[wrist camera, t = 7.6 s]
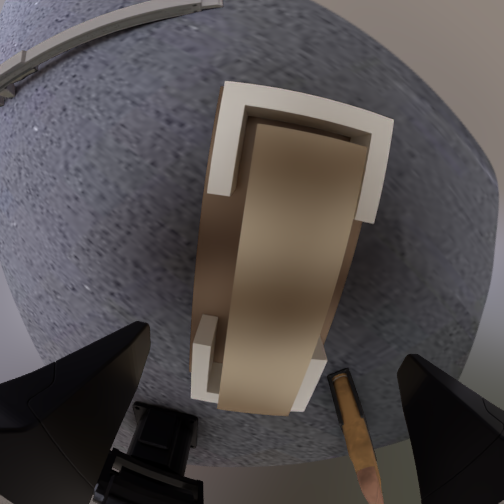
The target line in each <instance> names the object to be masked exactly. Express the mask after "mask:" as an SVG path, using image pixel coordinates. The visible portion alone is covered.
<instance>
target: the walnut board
mask: <svg viewBox="0 0 504 504" xmlns="http://www.w3.org/2000/svg"><path fill="white" fill-rule="evenodd" d="M223 90H224V87H223V86H221V88H220V93H219V98H218V103H217V109H216V114H215V120H214V126H213V132H212V138H211V144H210V151H209V157H208V164H207V171H206V178H205V185H204V193H203V201H202V209H201V217H200V226H199V235H198V245H197V255H196V266H195V278H194V290H193V304H192V319H191V338H190V361H189V372H192V350H193V341H194V338H195V335H196V332H197V329H198V326H199V323H200V320H201V317H202V315H203V314H204V315H210V316H216V317H218V322H217V330H216V339H215V348H214V357H213V362H216V363H222V364H223V359H224V351H225V343H226V336H227V328H228V320H229V313H230V306H231V298H232V291H233V284H234V276H235V269H236V262H237V255H238V248H239V241H240V234H241V228H242V221H243V214H244V207H245V201H246V194H247V187H248V181H249V174H250V168H251V162H252V155H253V149H254V143H255V136H256V130H257V124H265V125H271V126H277V127H283V128H288V129H293V130H299V131H303V132H308V133H313V134H317V135H322V136H326V137H330V138H335V139H339V140H342V141H346V142H350V139H351V137H347V136H344V135H340V134H336V133H332V132H328V131H324V130H320V129H316V128H312V127H307V126H302V125H298V124H293V123H288V122H283V121H277V120H271V119H266V118H259V117H253V116H248V118H247V124H246V130H245V136H244V142H243V148H242V154H241V160H240V166H239V172H238V178H237V185H236V189H235V191H234V192H233V193H232V194H231V196H223V195H216V194H209V193H207V188H208V181H209V174H210V167H211V160H212V154H213V147H214V141H215V135H216V129H217V123H218V117H219V111H220V106H221V100H222V95H223ZM361 225H362V221H359V220H355V219H353V222H352V226H351V231H350V235H349V239H348V243H347V247H346V250H345V254H344V258H343V262H342V265H341V269H340V272H339V276H338V279H337V283H336V286H335V290H334V293H333V296H332V299H331V303H330V306H329V309H328V312H327V315H326V318H325V321H324V324H323V327H322V330H321V333H320V336H321V340H322V343H323V345H324V342H325V340H326V337H327V334H328V332H329V329H330V326H331V323H332V321H333V318H334V315H335V312H336V309H337V306H338V303H339V300H340V297H341V294H342V291H343V288H344V285H345V282H346V279H347V275H348V272H349V269H350V265H351V262H352V259H353V255H354V252H355V248H356V244H357V241H358V237H359V233H360V229H361Z"/></svg>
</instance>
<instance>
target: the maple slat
mask: <svg viewBox="0 0 504 504" xmlns="http://www.w3.org/2000/svg"><path fill="white" fill-rule="evenodd" d="M366 152H367V147H365V146H361V145H357V144H354V143H350V142H346V141H342V140H339V139H335V138H330V137H326V136H322V135H317V134H313V133H308V132H303V131H299V130H293V129H288V128H283V127H277V126H271V125H265V124H257V130H256V136H255V143H254V149H253V155H252V162H251V168H250V174H249V181H248V187H247V194H246V201H245V207H244V214H243V221H242V228H241V234H240V241H239V248H238V255H237V262H236V269H235V276H234V284H233V291H232V298H231V306H230V313H229V320H228V328H227V336H226V343H225V351H224V359H223V367H222V375H221V383H220V391H219V399H218V407H217V409H222V410H229V411H236V412H244V413H254V414H264V415H278V416H288V415H289V413H290V410H291V408H292V406H293V403H294V401H295V399H296V396H297V394H298V391H299V389H300V386H301V384H302V382H303V379H304V376H305V374H306V371H307V369H308V366H309V363H310V361H311V358H312V355H313V353H314V350H315V347H316V344H317V342H318V339H319V336H320V333H321V330H322V327H323V324H324V321H325V318H326V315H327V312H328V309H329V306H330V303H331V299H332V296H333V293H334V290H335V286H336V283H337V279H338V276H339V272H340V269H341V265H342V262H343V258H344V254H345V250H346V247H347V243H348V239H349V235H350V231H351V226H352V222H353V218H354V214H355V209H356V205H357V200H358V195H359V190H360V185H361V180H362V175H363V170H364V164H365V158H366Z"/></svg>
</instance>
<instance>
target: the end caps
mask: <svg viewBox="0 0 504 504" xmlns="http://www.w3.org/2000/svg"><path fill="white" fill-rule="evenodd" d="M248 116H253V117H259V118H266V119H271V120H277V121H283V122H288V123H293V124H298V125H302V126H307V127H312V128H316V129H320V130H324V131H328V132H332V133H336V134H340V135H344V136H347V137H351V139H350V143H354V144H357V145H361V146H365V147H367V152H366V158H365V164H364V170H363V175H362V180H361V185H360V190H359V195H358V200H357V205H356V209H355V214H354V218H353V219H355V220H359V221H363V222H368V223H372V224H374V221H375V217H376V213H377V209H378V205H379V200H380V196H381V191H382V187H383V182H384V177H385V172H386V167H387V161H388V156H389V150H390V144H391V137H392V130H393V123H394V120H393V119H390V118H387V117H384V116H382V115H379V114H376V113H373V112H370V111H367V110H364V109H361V108H358V107H355V106H351V105H348V104H344V103H341V102H337V101H334V100H330V99H326V98H322V97H318V96H314V95H309V94H305V93H300V92H296V91H291V90H285V89H280V88H274V87H268V86H262V85H255V84H248V83H239V82H230V81H225V85H224V90H223V95H222V100H221V106H220V111H219V117H218V123H217V129H216V135H215V141H214V147H213V154H212V160H211V167H210V174H209V181H208V188H207V193H209V194H216V195H223V196H231V194H232V193H233V192H234V191H235V189H236V185H237V178H238V172H239V166H240V160H241V154H242V148H243V142H244V136H245V130H246V124H247V118H248ZM217 322H218V317H216V316H210V315H204V314H203V315H202V317H201V320H200V323H199V326H198V329H197V332H196V335H195V338H194V341H193V350H192V373H191V398H192V399H197V400H202V401H208V402H213V403H218V399H219V391H220V383H221V375H222V367H223V364H222V363H216V362H213V357H214V348H215V339H216V330H217ZM326 363H327V357H326V353H325V350H324V347H323V343H322V340H321V336H319V339H318V342H317V344H316V347H315V350H314V353H313V355H312V358H311V361H310V363H309V366H308V369H307V371H306V374H305V376H304V379H303V382H302V384H301V386H300V389H299V391H298V394H297V396H296V399H295V401H294V403H293V406H292V408H291V410H290V411H298V412H304V410H305V408H306V406H307V404H308V402H309V400H310V398H311V396H312V394H313V391H314V389H315V387H316V385H317V383H318V381H319V379H320V376H321V374H322V372H323V370H324V367H325V365H326Z"/></svg>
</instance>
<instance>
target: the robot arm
mask: <svg viewBox="0 0 504 504" xmlns="http://www.w3.org/2000/svg"><path fill="white" fill-rule="evenodd" d="M150 345H151V341H150V327H149V324H148V323H144V322H140V321H136V322H133V323H131V324H129V325H127V326H126V327H124V328H122V329H120V330H118V331H116V332H114V333H112V334H110V335H107V336H105V337H103V338H101V339H99V340H97V341H95V342H93V343H91V344H89V345H87V346H85V347H83V348H81V349H79V350H77V351H75V352H73V353H71V354H69V355H67V356H65V357H63V358H61V359H59V360H57V361H56V363H55V362H53V363H51V364H49V365H46V366H44V367H42V368H40V369H38V370H36V371H33V372H31V373H28V374H26V375H23V376H21V377H18V378H15V379H12V380H9V381H7V382H4V383H1V384H0V504H89V503H90V500H91V497H92V495H94V498H93V502H95V503H98V504H204V503H203V501H204V500H203V481H200V480H194V479H190V478H187V477H184V474H185V469H186V464H187V460H188V455H189V450H190V448H196V446H197V423H198V419H197V418H196V417H194V416H190V415H185V414H180V413H176V412H172V411H167V410H163V409H159V408H156V407H152V406H148V405H145V404H141V403H138V402H135V403H134V405H133V409H134V414H135V417H136V421H137V428H136V430H135V433H134V435H133V438H132V441H131V443H130V446H129V449H128V451H127V454H125V453H122V452H120V451H119V450H118V449H116V448H114V447H113V450H112V451H111V450H110V449H111V447H112V444H113V442H114V439H115V437H116V435H117V432H118V430H119V428H120V425H121V423H122V421H123V419H124V416H125V414H126V412H127V410H128V407H129V405H130V403H131V401H132V398H133V396H134V394H135V392H136V389H137V387H138V384H139V381H140V378H141V375H142V372H143V369H144V366H145V363H146V359H147V356H148V353H149V350H150ZM397 379H398V384H399V389H400V395H401V401H402V407H403V412H404V416H405V420H406V424H407V428H408V432H409V436H410V441H411V445H412V449H413V455H414V459H415V465H416V470H417V476H418V482H419V488H420V495H421V499H422V500H421V503H422V504H504V411H503V410H502V409H500V408H498V407H497V406H495V405H494V404H492V403H490V402H489V401H487V400H486V399H484V398H482V397H481V396H480V395H478V394H477V393H475V392H474V391H472V390H471V389H469V388H468V387H466V386H465V385H463V384H462V383H460V382H459V381H457V380H456V379H454V378H453V377H451V376H450V375H448V374H447V373H445V372H444V371H442V370H441V369H439V368H438V367H436V366H435V365H433V364H432V363H430V362H429V361H427V360H426V359H424V358H423V357H421V356H420V355H418V354H408V355H407V356H406V357H405V359H404V361H403V363H402V364H401V366H400V368H399V370H398V372H397ZM112 467H113V468H115V469H117V470H119V472H116V471H114V470H112Z"/></svg>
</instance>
